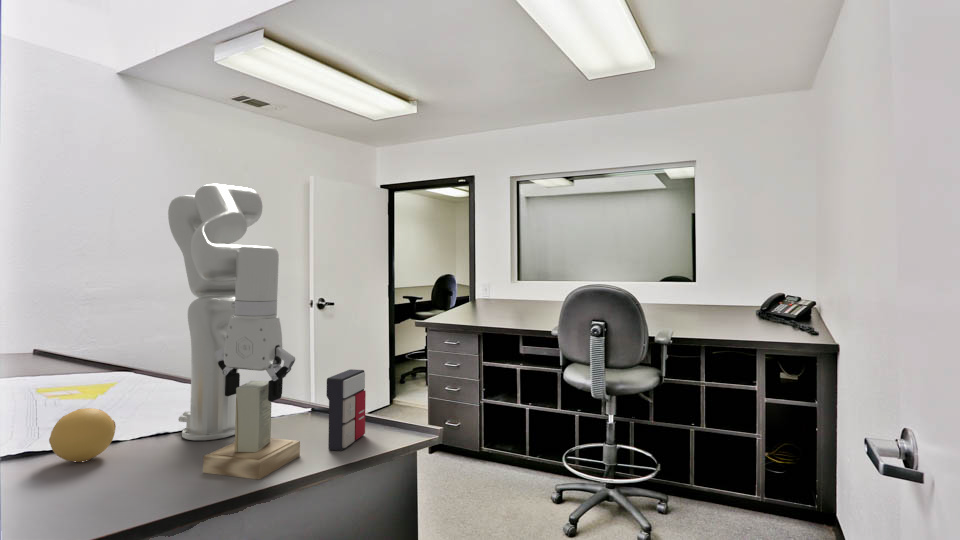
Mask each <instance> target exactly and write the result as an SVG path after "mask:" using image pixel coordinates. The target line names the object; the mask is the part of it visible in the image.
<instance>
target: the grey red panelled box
mask: <svg viewBox="0 0 960 540" xmlns="http://www.w3.org/2000/svg"><path fill="white" fill-rule="evenodd" d="M365 388H366V372H365V370H364V369H354V368H353V369H348V370H345V371H343V372H340V373H337V374H335V375H331V376H329V377H327V378H326V397H327V398H326V399H328V439H327V440H328V443H327V444H328V446H327V448H328V450H329V451H340V452H342V451H343V450H344V449H346V448H347V447H349V446H350V445H351V444H353V443H355V442H357V440H359V438H361V437H363V436H364V435H365V434H366V390H365Z"/></svg>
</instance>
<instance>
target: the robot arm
mask: <svg viewBox="0 0 960 540" xmlns="http://www.w3.org/2000/svg"><path fill="white" fill-rule="evenodd" d="M262 214H263V201H262V198H261V196H260V194H259V193H258V192H257V191H256V190H255V189H252V188H248V187H243V186H235V185H227V184H222V183H221V184H220V183H207V184H205V185H202V186H200V187H199V188H198V189H196V191H195V193H194V195H193V194H191V195H190V194H186V195H180V196H177V197H175V198H173V199H172V200H171V201H170V203H169V206H168V211H167V215H168V224H169V230H170V232H171V234H172V235H171V236H172V237H173V239H174V241H175V242H176V244H177V246H178V247H179V250H180V251H181V253H182V256H183V261H184V268H185V272H186V277H187V282H188V286H189V289H190V291H191V294H192V295H193V296H195V297H196V299H194V300H193V301H192V302H191V303H189V306H188V309H187V323H188V329H189V335H190V336H189V337H190V346H191V348H190V349H191V354H190V355H191V360H190V361H191V365H190V366H191V368H190V369H191V370H190V372H191V373H190V410H189V411H186V410H185V411H184V412H183V413H182V415H180V416H179V417H178V422H180V423H185V424H186V427H185V428H183V429H182V432H181V437H182V438H183V439H184V440H189V441H212V440H218V439H224V438H229V437H231V436H235V417H236V388H237V387H239V386H241V385H240V382H241V381H240V379H241V375H240V372H238V371H239V370H246V371H258V372H262V371H263V372H264V371H266V372H267V374H268V375H269V377H270V378H271V380H269V386H268V400H269V401H271V403H272V402H275V401H277V400H279V399H281V398H282V394H283V383H284V382H283V379H284V378H286V377H287V375H288V374H289V373H290V372H291V370H292V367H293V366H294V364H295V361H296V357H295V356H294V355H292V354H291V353H289V352H288V351H286V350H285V349H284V348H283V335H282V326H281V320H280V317H279V316H278V289H279V288H278V284H279V264H280V263H279V255H280V254H279V251H278V250H277V248H275V247H272V246H263V245H250V244H236V243H235V242H237V241H239V240H240V239H241V238H242V239H243V237H244V236H245V234H246V232H247V231H248V228H249V227H251V226H253V225H255V223H257V222H258V221H259V220H260V218H261V216H262ZM234 243H235V244H234ZM282 361H283V365H282V366H281V364H282Z"/></svg>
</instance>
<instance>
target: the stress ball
mask: <svg viewBox="0 0 960 540" xmlns="http://www.w3.org/2000/svg"><path fill="white" fill-rule="evenodd" d="M115 433H116V422H115V420H114V419H113V418H112V417H111V416H110V415H109V414H108V413H107V412H106V411H103V410H102V409H98V408H93V407H92V408H91V407H89V408H86V407H85V408H78V409H75V410H74V411H71V412H68V413H67V414H65V415H63V416H62V417H60V418H59V420H58V421H57V422H56V423H55V425H54V426H53V428H52V429H51V433H50V437H49V439H48V441H49V444H50V447H51V450H52V452H53V453H54V454H55V455H56V456H57V457H59V458H60V459H62V460H64V461H69V462H73V461H76V462H82V461H86V460H90V459H91V458H92V459H93V458H96V457H97V456H99V455H101V454H102V453H103V452H105V450H107V448H108V447H110V445H111V443H112V442H113V440H114V436H115ZM92 459H91V460H92ZM91 460H90V461H91ZM82 463H83V462H82Z"/></svg>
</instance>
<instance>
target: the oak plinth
mask: <svg viewBox="0 0 960 540" xmlns="http://www.w3.org/2000/svg"><path fill="white" fill-rule="evenodd" d="M300 454H301V441H300V440H295V439H294V440H292V439H285V438H284V439H282V438H274V437H273V438H271V440H270V442H269V443H268V444H267V445H265V446H264V447H263V448H262V449H260V450H259V451H258V452H235V441H234V442H233V443H230V444H228V445H225V446H223V447H221V448H218V449H217V450H214V451H212V452H210V453H207V454H205V455H204V456H203V463H202V464H203V465H202V473H203V474H212V475H219V476H227V477H237V478H243V479H245V478H246V479H251V480H252V479H253V480H258V481H259V480H261V479H263V478H265V477H266V476H268V475H270V474H272V473H273V472H275V471H277V470H278V469H280V468H283V467H284V466H285V465H287V464H289V463H290V462H292V461H294V460H296V459H297V458H299V457H300Z"/></svg>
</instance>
